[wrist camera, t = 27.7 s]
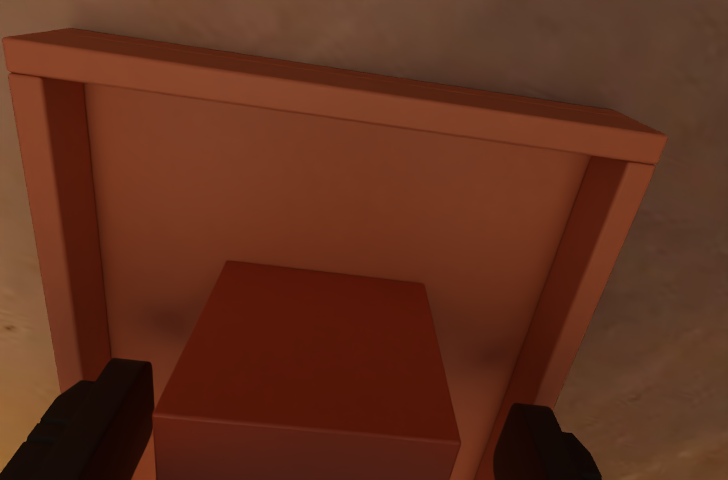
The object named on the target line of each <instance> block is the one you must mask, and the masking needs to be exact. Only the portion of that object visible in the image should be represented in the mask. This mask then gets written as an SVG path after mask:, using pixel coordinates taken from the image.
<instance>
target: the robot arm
mask: <svg viewBox="0 0 728 480" xmlns="http://www.w3.org/2000/svg"><path fill="white" fill-rule="evenodd" d="M154 409H155V404H154V387H153V369H152V364H151V362H149V361H140V360H131V359H122V358H112V359H111V360H110V361H109V362H108V363H107V365H106V366H105V368H104V369H103V371H102V372H101V374H100V375H99V377H98V378H97V380H96V381H86V380H80V381H79V382H77V383H76V384H75V385H73V386H72V387H70V388H69V389H68V390H66V391H65V392H63V393H62V394H61V395H59V396H58V397H57V398H56V399H55V400H54V402H53V403H52V404H51V406H50V407H49V409H48V410H47V411H46V413H45V414H44V415H43V417H42V418H41V421H40V423H37V425H36V426H35V427H34V429H33V430H32V431H31V433H30V434H29V435H28V437H27V441H26V442H23V444H22V445H21V446H20V448H19V449H18V450H17V452H16V453H15V454H14V456H13V457H12V458H11V460H10V461H9V462H8V464H7V465H6V467H5V468H4V469H3V471H2V472H1V473H0V480H131V479H132V476H133V474H134V472H135V470H136V468H137V466H138V464H139V461H140V459H141V457H142V455H143V453H144V451H145V449H146V446H147V444H148V442H149V439H150V437H151V433H152V430H153V421H152V413H153V411H154ZM493 473H494V478H495V480H602V479H601V477H602V476H601V474H600V472H599V470H598V468H597V466H596V464H595V462H594V460H593V458H592V456H591V454H590V452H589V451H588V450H587V449H586V448H585V447H584V446H583V445H582V444H581V443H580V441H579V440H578V439H577V438H576V437H575V436H574V435H573V434H572V433H566V432H562V431H561V428H560V426H559V424H558V422H557V420H556V417H555V415H554V413H553V411H552V410H551V408H549V407H548V406H541V405H532V404H523V403H514V404H513V405H512V406H511V408H510V410H509V413H508V415H507V418H506V420H505V423H504V426H503V428H502V431H501V434H500V436H499V439H498V441H497V444H496V447H495V450H494V455H493Z"/></svg>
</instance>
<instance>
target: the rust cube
mask: <svg viewBox="0 0 728 480" xmlns="http://www.w3.org/2000/svg"><path fill="white" fill-rule="evenodd" d="M152 421H153V437H154V453H155V469H156V480H450V477H451V474H452V471H453V468H454V465H455V462H456V459H457V456H458V453H459V450H460V447H461V439H460V435H459V431H458V426H457V422H456V418H455V413H454V409H453V405H452V400H451V396H450V392H449V387H448V383H447V379H446V374H445V370H444V366H443V361H442V357H441V353H440V348H439V344H438V340H437V335H436V331H435V327H434V322H433V318H432V314H431V309H430V305H429V301H428V296H427V292H426V288H425V285H424V284H422V283H413V282H405V281H396V280H388V279H379V278H371V277H362V276H354V275H345V274H337V273H328V272H320V271H311V270H303V269H294V268H286V267H277V266H269V265H260V264H252V263H244V262H235V261H226V262H225V264H224V266H223V268H222V271H221V273H220V275H219V277H218V279H217V281H216V283H215V285H214V287H213V289H212V291H211V293H210V295H209V297H208V300H207V302H206V304H205V306H204V308H203V310H202V312H201V314H200V316H199V318H198V320H197V322H196V324H195V326H194V329H193V331H192V333H191V335H190V337H189V339H188V341H187V343H186V345H185V347H184V349H183V351H182V353H181V355H180V358H179V360H178V362H177V364H176V366H175V368H174V370H173V372H172V374H171V376H170V378H169V380H168V382H167V384H166V387H165V389H164V391H163V393H162V395H161V397H160V399H159V401H158V403H157V405H156V407H155V409H154V411H153V413H152Z"/></svg>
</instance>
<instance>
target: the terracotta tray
mask: <svg viewBox="0 0 728 480" xmlns="http://www.w3.org/2000/svg"><path fill="white" fill-rule="evenodd" d="M2 42H3V48H4V54H5V60H6V66H7V70H8V71H9V72H12V73H10V74H9V76H8V78H9V84H10V90H11V96H12V102H13V108H14V114H15V120H16V126H17V132H18V138H19V144H20V150H21V156H22V162H23V168H24V174H25V180H26V186H27V192H28V198H29V204H30V210H31V216H32V222H33V228H34V234H35V240H36V246H37V252H38V258H39V264H40V270H41V276H42V282H43V288H44V294H45V300H46V307H47V313H48V319H49V325H50V331H51V337H52V343H53V349H54V355H55V361H56V367H57V373H58V379H59V385H60V391H61V394H62V393H63V392H65V391H66V390H68V389H69V388H70V387H72V386H73V385H75V384H76V383H77V382H79V381H80V380H86V381H96V380H97V378H98V377H99V375H100V374H101V372H102V371H103V369H104V368H105V366H106V365H107V363H108V362H109V361H110V360H111V359H112V358H122V359H131V360H140V361H149V362H151V364H152V369H153V387H154V404H155V407H156V405H157V403H158V401H159V399H160V397H161V395H162V393H163V391H164V389H165V387H166V384H167V382H168V380H169V378H170V376H171V374H172V372H173V370H174V368H175V366H176V364H177V362H178V360H179V358H180V355H181V353H182V351H183V349H184V347H185V345H186V343H187V341H188V339H189V337H190V335H191V333H192V331H193V329H194V326H195V324H196V322H197V320H198V318H199V316H200V314H201V312H202V310H203V308H204V306H205V304H206V302H207V300H208V297H209V295H210V293H211V291H212V289H213V287H214V285H215V283H216V281H217V279H218V277H219V275H220V273H221V271H222V268H223V266H224V264H225V262H226V261H235V262H244V263H252V264H260V265H269V266H277V267H286V268H294V269H303V270H311V271H320V272H328V273H337V274H345V275H354V276H362V277H371V278H379V279H388V280H396V281H405V282H413V283H422V284H424V285H425V288H426V292H427V296H428V301H429V305H430V309H431V314H432V318H433V322H434V327H435V331H436V335H437V340H438V344H439V348H440V353H441V357H442V361H443V366H444V370H445V374H446V379H447V383H448V387H449V392H450V396H451V400H452V405H453V409H454V413H455V418H456V422H457V426H458V431H459V435H460V439H461V447H460V450H459V453H458V456H457V459H456V462H455V465H454V468H453V471H452V474H451V477H450V480H495V478H494V473H493V455H494V450H495V447H496V444H497V441H498V439H499V436H500V434H501V431H502V428H503V426H504V423H505V420H506V418H507V415H508V413H509V410H510V408H511V406H512V405H513V404H514V403H523V404H532V405H541V406H548V407H549V408H551V410H553V408H554V405H555V403H556V401H557V398H558V396H559V393H560V391H561V389H562V386H563V384H564V382H565V379H566V377H567V375H568V372H569V370H570V368H571V365H572V363H573V361H574V358H575V356H576V354H577V351H578V349H579V347H580V344H581V342H582V340H583V337H584V335H585V332H586V330H587V328H588V325H589V323H590V321H591V318H592V316H593V314H594V311H595V309H596V307H597V304H598V302H599V300H600V297H601V295H602V293H603V290H604V288H605V286H606V283H607V281H608V278H609V276H610V274H611V271H612V269H613V267H614V264H615V262H616V260H617V257H618V255H619V253H620V250H621V248H622V246H623V243H624V241H625V239H626V236H627V234H628V232H629V229H630V227H631V225H632V222H633V220H634V217H635V215H636V213H637V210H638V208H639V206H640V203H641V201H642V199H643V196H644V194H645V192H646V189H647V187H648V185H649V182H650V180H651V178H652V175H653V173H654V171H655V166H654V165H653V164H657V163H658V161H659V159H660V156H661V154H662V152H663V149H664V147H665V145H666V142H667V140H668V136H666V135H665V134H663V133H661V132H659V131H656V130H654V129H652V128H650V127H648V126H646V125H644V124H641V123H639V122H637V121H635V120H633V119H631V118H629V117H627V116H625V115H623V114H621V113H618V112H616V111H614V110H609V109H602V108H595V107H589V106H582V105H576V104H569V103H562V102H556V101H549V100H542V99H536V98H529V97H523V96H516V95H509V94H503V93H496V92H490V91H483V90H476V89H470V88H463V87H456V86H450V85H443V84H437V83H430V82H423V81H417V80H410V79H403V78H397V77H390V76H384V75H377V74H370V73H364V72H357V71H351V70H344V69H337V68H331V67H324V66H317V65H311V64H304V63H298V62H291V61H284V60H278V59H271V58H265V57H258V56H251V55H245V54H238V53H231V52H225V51H218V50H212V49H205V48H198V47H192V46H185V45H179V44H172V43H165V42H159V41H152V40H145V39H139V38H132V37H126V36H119V35H112V34H106V33H99V32H93V31H86V30H79V29H73V28H68V29H60V30H52V31H47V32H39V33H32V34H24V35H17V36H9V37H4V38H3V40H2ZM131 480H156V469H155V453H154V437H153V430H152V433H151V437H150V439H149V442H148V444H147V446H146V449H145V451H144V453H143V455H142V457H141V459H140V461H139V464H138V466H137V468H136V470H135V472H134V474H133V476H132V479H131Z"/></svg>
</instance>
